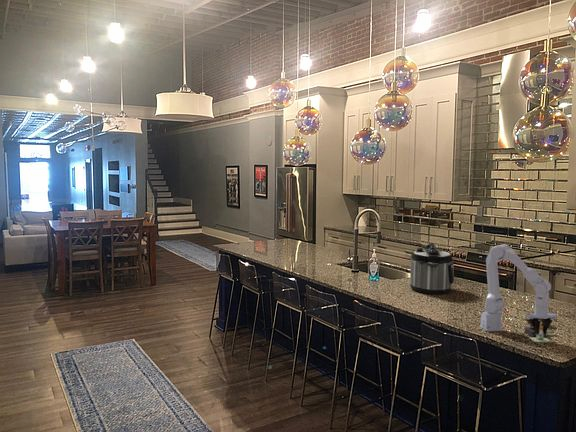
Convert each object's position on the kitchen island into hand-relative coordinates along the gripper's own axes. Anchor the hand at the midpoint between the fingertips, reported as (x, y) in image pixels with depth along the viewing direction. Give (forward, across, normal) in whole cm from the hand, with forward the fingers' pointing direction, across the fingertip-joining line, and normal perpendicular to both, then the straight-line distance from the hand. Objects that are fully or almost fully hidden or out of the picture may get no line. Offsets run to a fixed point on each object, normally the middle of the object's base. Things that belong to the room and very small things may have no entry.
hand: (540, 333), depth 230 cm
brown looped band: (+4, +12, +23) cm, 26 cm away
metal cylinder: (+3, 0, 0) cm, 3 cm away
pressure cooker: (+4, -16, +98) cm, 99 cm away
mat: (+3, 0, 0) cm, 3 cm away
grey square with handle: (+3, +5, +7) cm, 9 cm away
